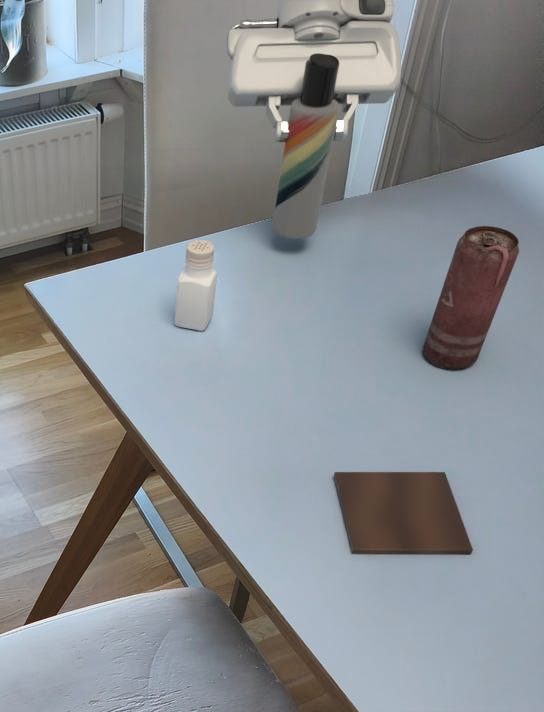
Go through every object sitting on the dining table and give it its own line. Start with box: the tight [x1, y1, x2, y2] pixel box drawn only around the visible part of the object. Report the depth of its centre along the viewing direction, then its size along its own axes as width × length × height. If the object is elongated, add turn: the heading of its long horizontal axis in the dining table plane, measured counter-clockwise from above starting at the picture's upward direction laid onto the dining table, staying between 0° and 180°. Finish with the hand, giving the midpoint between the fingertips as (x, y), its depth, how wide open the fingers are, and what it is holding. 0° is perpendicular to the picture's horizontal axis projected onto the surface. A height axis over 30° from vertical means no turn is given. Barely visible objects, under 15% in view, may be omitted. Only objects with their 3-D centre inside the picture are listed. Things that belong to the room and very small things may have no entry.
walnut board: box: [333, 471, 474, 555], centre depth 85 cm, size 11×11×1 cm
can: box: [422, 225, 520, 371], centre depth 96 cm, size 6×6×14 cm
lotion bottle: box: [272, 53, 340, 240], centre depth 109 cm, size 6×6×20 cm
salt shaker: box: [174, 239, 218, 332], centre depth 104 cm, size 4×4×10 cm
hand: (310, 139), depth 107 cm, fingers closed on lotion bottle, 5 cm apart
